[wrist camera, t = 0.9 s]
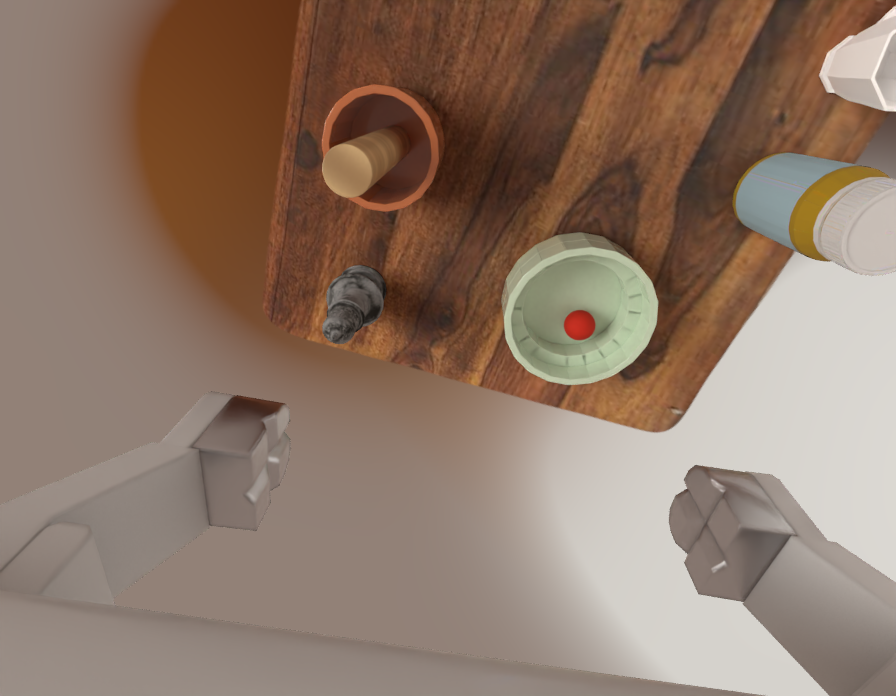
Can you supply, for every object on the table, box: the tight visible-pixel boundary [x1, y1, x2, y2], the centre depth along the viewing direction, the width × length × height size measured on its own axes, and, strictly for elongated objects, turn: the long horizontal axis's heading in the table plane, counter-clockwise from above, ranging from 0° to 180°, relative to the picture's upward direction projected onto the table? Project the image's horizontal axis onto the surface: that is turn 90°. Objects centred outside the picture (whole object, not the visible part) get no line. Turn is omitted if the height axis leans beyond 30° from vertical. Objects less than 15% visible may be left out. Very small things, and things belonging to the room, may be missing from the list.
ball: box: [564, 310, 596, 340], centre depth 50 cm, size 3×3×3 cm
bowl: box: [501, 232, 658, 385], centre depth 48 cm, size 14×14×6 cm
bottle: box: [733, 152, 896, 276], centre depth 38 cm, size 7×7×15 cm
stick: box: [322, 126, 410, 198], centre depth 36 cm, size 3×3×18 cm
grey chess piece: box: [323, 265, 386, 344], centre depth 46 cm, size 6×6×12 cm
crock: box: [322, 84, 444, 212], centre depth 41 cm, size 9×9×8 cm
